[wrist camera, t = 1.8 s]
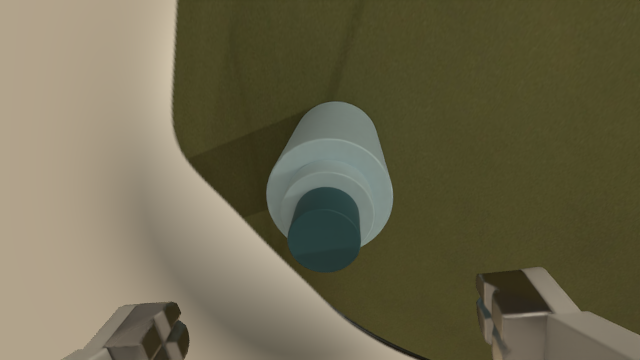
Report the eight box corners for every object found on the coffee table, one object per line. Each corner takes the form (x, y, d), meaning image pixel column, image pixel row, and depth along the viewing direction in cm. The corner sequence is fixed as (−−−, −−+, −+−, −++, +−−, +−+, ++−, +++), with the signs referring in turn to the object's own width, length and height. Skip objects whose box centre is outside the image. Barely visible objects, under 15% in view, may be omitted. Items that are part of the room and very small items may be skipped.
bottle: (286, 108, 24) (227, 179, 12) (372, 94, 23) (397, 155, 11) (302, 186, 26) (264, 312, 14) (382, 176, 25) (411, 299, 13)
